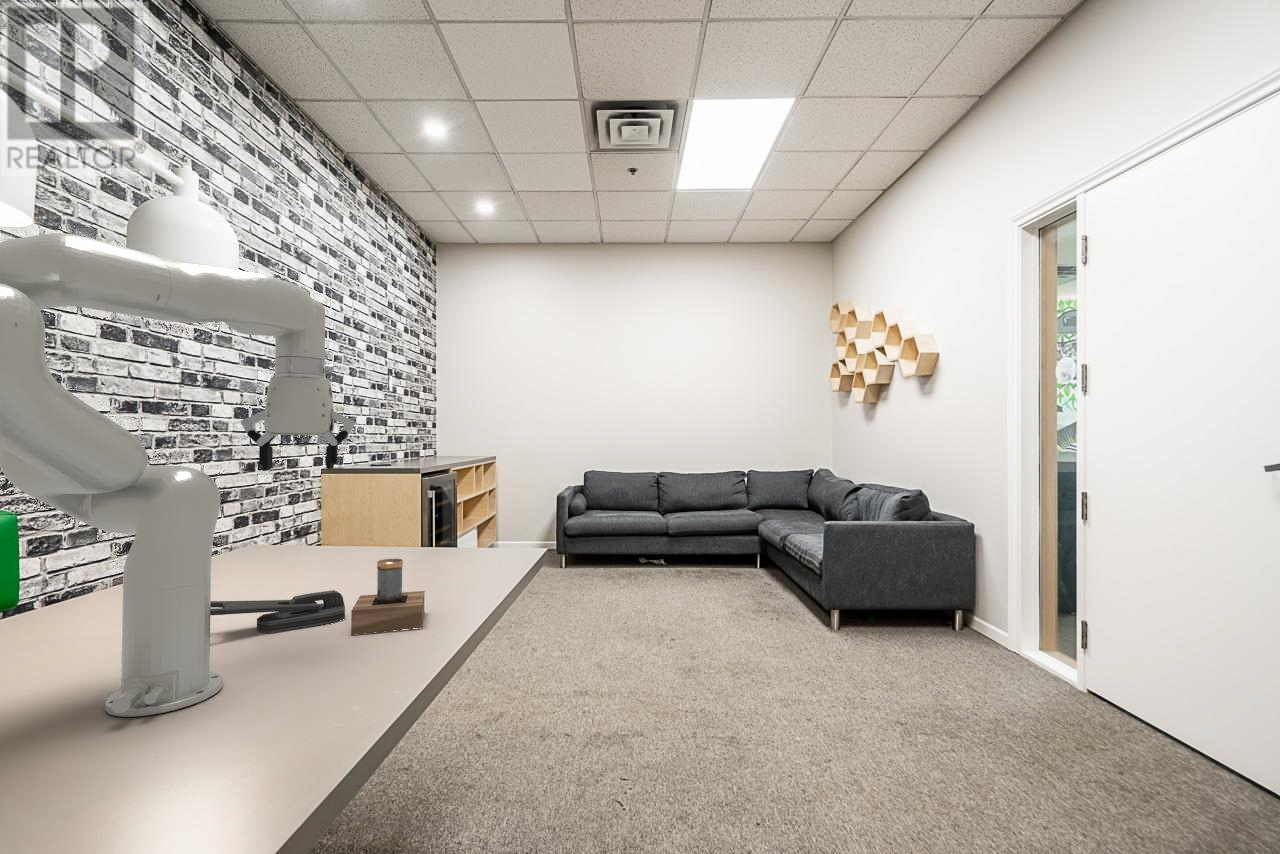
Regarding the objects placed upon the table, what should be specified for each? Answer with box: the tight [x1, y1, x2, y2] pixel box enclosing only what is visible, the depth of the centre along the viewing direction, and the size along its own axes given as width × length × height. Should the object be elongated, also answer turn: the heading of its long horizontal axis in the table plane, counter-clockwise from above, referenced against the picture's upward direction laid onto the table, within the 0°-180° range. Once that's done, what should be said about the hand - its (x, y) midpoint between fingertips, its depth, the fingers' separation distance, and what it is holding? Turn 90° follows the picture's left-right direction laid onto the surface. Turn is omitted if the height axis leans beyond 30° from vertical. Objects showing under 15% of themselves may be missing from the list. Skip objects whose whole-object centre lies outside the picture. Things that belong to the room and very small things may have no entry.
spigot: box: [376, 558, 404, 605], centre depth 115 cm, size 5×5×12 cm
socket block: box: [350, 590, 425, 636], centre depth 115 cm, size 11×12×4 cm
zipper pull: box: [210, 589, 346, 635], centre depth 112 cm, size 9×7×25 cm
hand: (299, 468), depth 104 cm, fingers open, 9 cm apart
